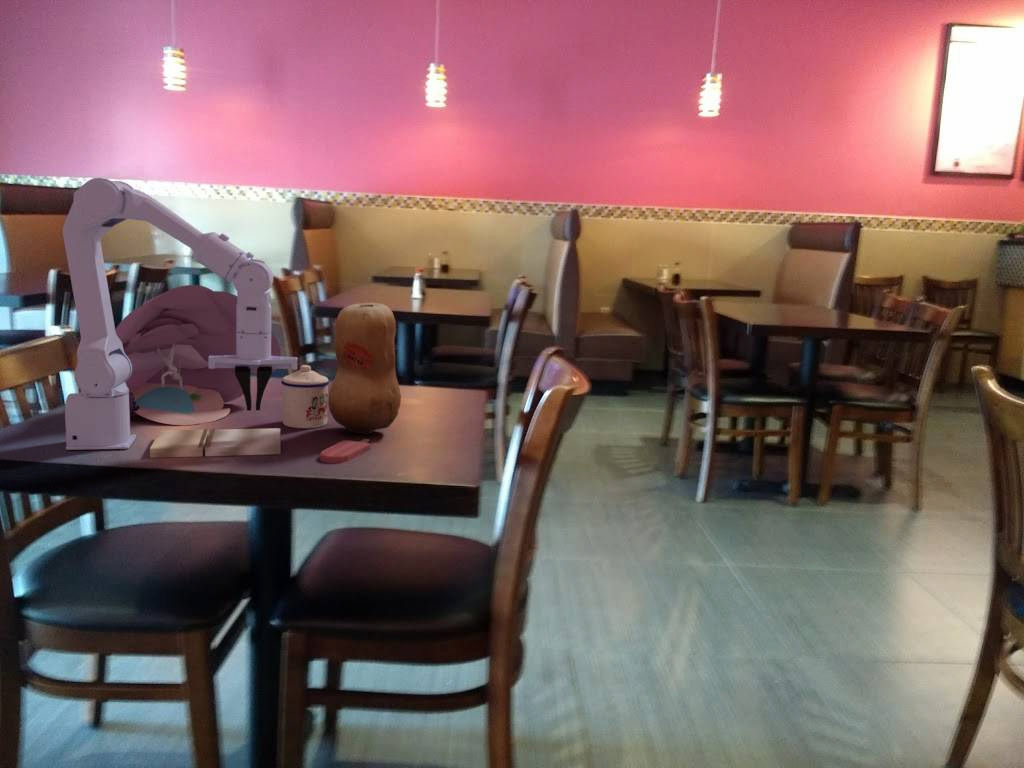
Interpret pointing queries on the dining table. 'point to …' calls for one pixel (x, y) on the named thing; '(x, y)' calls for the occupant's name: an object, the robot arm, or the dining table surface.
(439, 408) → the dining table surface
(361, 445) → the popsicle
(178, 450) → the laid board
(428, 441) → the dining table surface
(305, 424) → the teacup with lid
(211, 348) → the mauve lumpy shape
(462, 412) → the dining table surface
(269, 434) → the beige flat square block
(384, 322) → the butternut squash
